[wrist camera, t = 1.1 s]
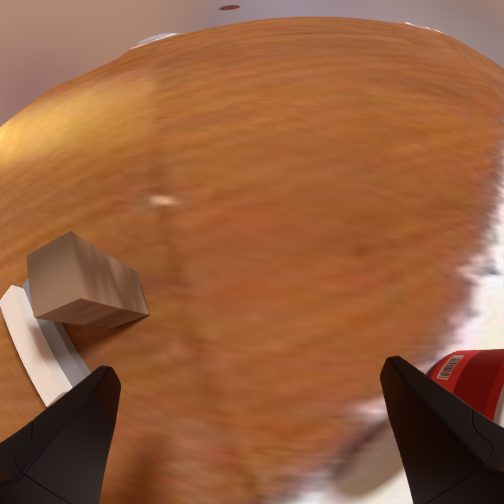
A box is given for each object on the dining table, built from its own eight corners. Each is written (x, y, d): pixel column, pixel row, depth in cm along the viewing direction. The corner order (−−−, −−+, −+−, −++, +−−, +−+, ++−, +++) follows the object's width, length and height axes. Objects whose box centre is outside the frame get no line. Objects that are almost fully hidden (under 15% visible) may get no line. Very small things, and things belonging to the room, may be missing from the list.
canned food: (412, 428, 19) (484, 462, 8) (428, 349, 21) (512, 348, 10) (463, 420, 18) (533, 437, 8) (477, 349, 20) (552, 344, 10)
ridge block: (97, 382, 20) (76, 386, 17) (61, 413, 19) (40, 419, 16) (40, 276, 23) (19, 268, 20) (10, 313, 22) (-10, 309, 18)
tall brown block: (150, 314, 22) (80, 298, 12) (112, 328, 22) (33, 318, 12) (137, 272, 23) (70, 231, 13) (102, 286, 23) (26, 256, 13)
